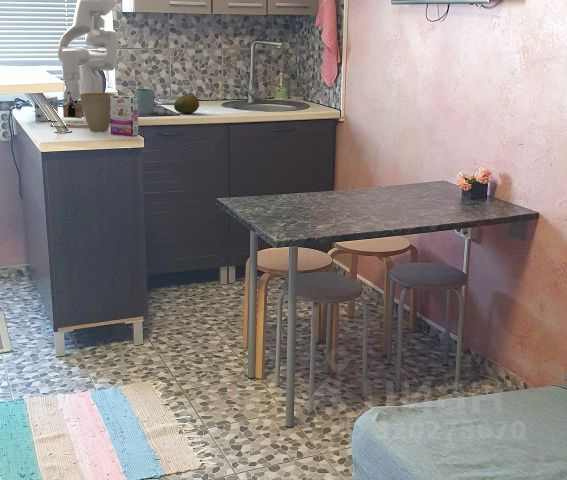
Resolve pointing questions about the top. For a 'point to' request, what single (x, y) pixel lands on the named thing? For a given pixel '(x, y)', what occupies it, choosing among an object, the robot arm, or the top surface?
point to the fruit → (186, 104)
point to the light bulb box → (39, 113)
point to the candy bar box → (124, 115)
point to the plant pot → (97, 110)
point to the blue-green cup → (145, 100)
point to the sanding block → (78, 110)
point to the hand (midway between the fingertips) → (73, 115)
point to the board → (75, 124)
